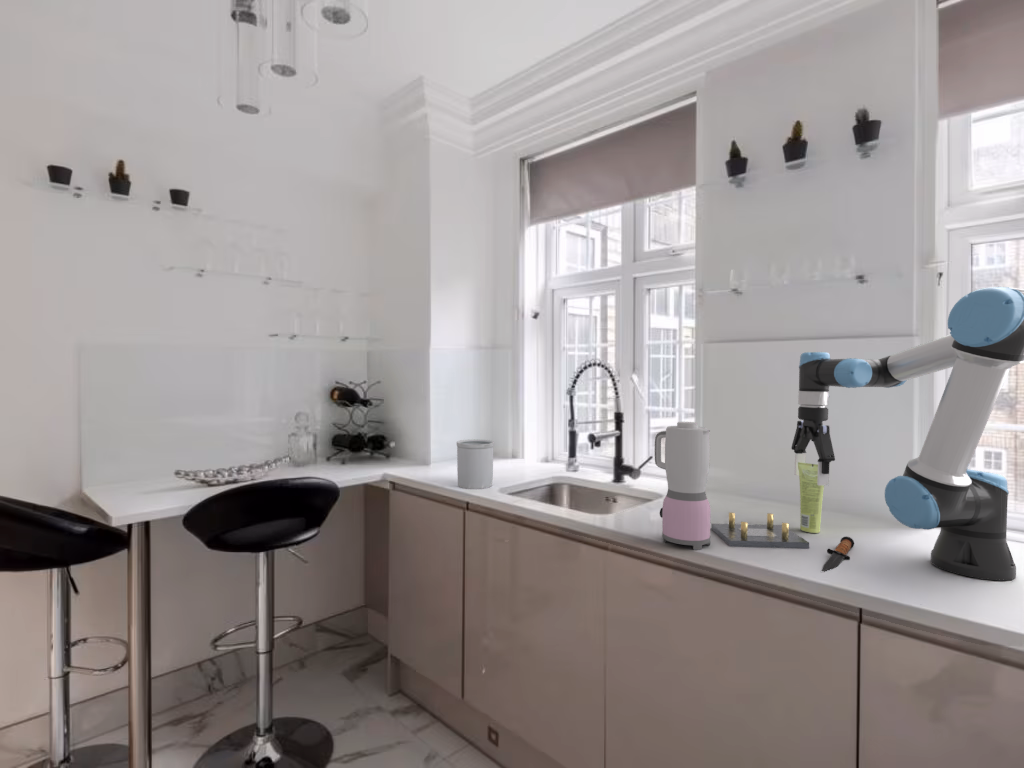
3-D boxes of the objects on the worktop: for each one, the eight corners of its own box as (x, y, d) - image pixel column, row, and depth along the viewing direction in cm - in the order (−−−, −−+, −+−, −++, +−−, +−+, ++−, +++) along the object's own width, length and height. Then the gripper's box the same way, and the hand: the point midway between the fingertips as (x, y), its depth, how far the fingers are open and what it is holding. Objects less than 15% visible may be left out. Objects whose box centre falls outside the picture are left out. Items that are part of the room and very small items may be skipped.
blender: (719, 543, 144) (721, 422, 143) (697, 553, 135) (699, 425, 134) (665, 530, 155) (666, 418, 154) (642, 539, 146) (643, 421, 146)
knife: (837, 573, 121) (813, 563, 124) (834, 585, 121) (810, 575, 124) (860, 540, 139) (838, 532, 142) (857, 551, 140) (835, 543, 143)
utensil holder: (492, 489, 207) (493, 444, 207) (454, 489, 208) (454, 443, 207) (494, 482, 222) (495, 439, 222) (458, 481, 222) (458, 439, 222)
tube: (815, 528, 158) (816, 462, 158) (826, 533, 153) (827, 464, 153) (796, 528, 158) (797, 461, 158) (806, 533, 153) (807, 464, 152)
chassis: (809, 548, 140) (809, 527, 140) (729, 546, 141) (730, 525, 141) (782, 530, 156) (782, 511, 156) (711, 528, 157) (711, 509, 157)
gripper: (851, 409, 142) (848, 490, 143) (805, 403, 167) (803, 471, 168) (821, 409, 142) (819, 489, 143) (780, 403, 167) (778, 471, 168)
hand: (810, 480), depth 155 cm, fingers open, 13 cm apart
